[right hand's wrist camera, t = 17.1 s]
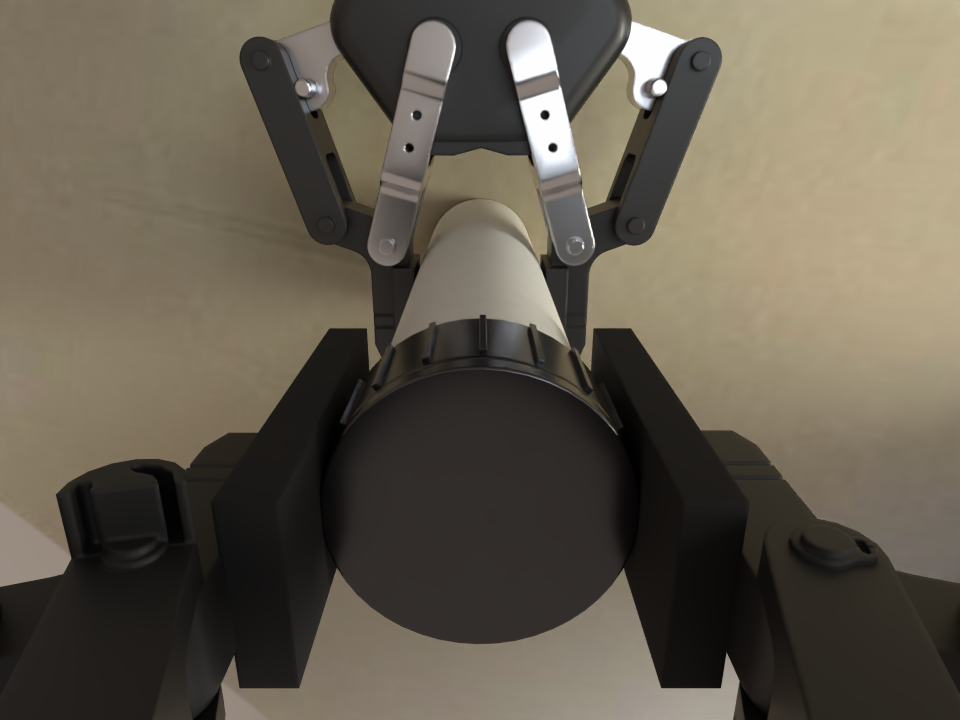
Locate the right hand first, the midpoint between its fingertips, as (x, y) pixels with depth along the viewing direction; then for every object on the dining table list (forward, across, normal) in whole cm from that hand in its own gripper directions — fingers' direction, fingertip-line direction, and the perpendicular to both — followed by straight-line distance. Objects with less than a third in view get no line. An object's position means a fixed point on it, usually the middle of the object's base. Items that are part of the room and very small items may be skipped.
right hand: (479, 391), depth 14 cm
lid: (-4, 0, 0) cm, 4 cm away
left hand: (+9, 0, -3) cm, 9 cm away
